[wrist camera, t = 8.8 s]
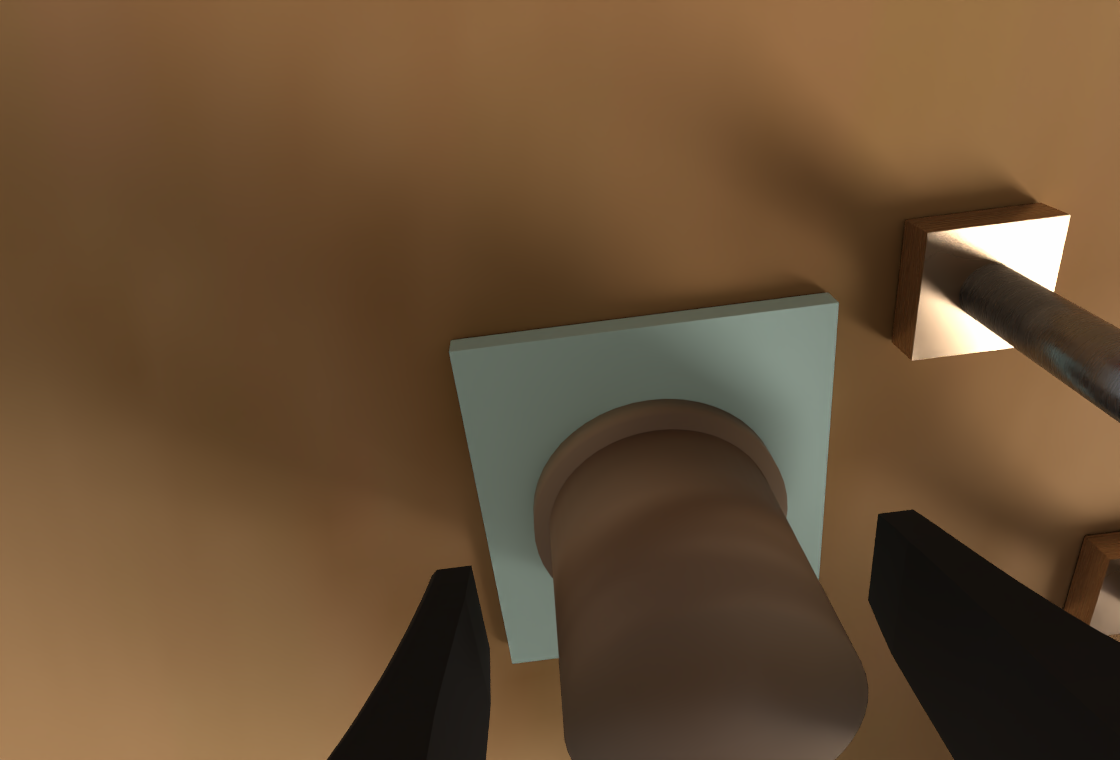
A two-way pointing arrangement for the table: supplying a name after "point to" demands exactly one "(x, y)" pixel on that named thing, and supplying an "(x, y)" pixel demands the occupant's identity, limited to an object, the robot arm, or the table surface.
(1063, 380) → the buzz wire
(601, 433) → the brown domed cylinder
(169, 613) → the table surface
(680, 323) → the pad
